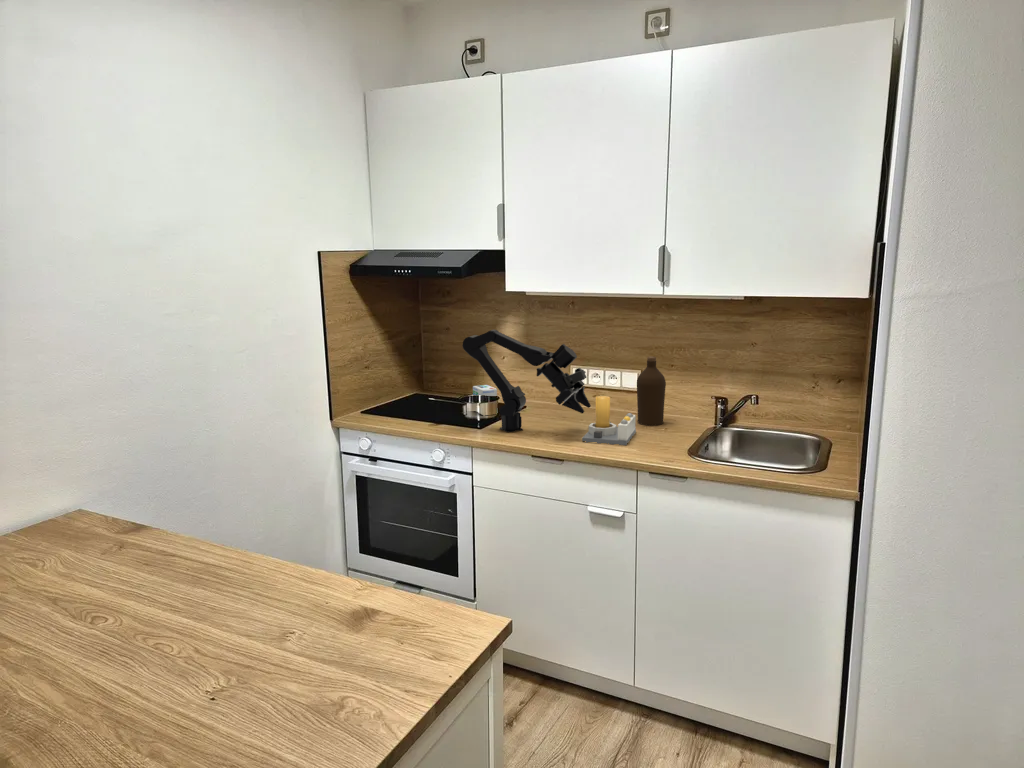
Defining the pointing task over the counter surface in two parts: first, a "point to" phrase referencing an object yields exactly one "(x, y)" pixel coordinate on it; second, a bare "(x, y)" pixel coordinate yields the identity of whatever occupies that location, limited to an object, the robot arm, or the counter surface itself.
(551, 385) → the robot arm
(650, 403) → the olive oil
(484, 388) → the light bulb box
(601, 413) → the cap
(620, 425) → the ball rail dock
